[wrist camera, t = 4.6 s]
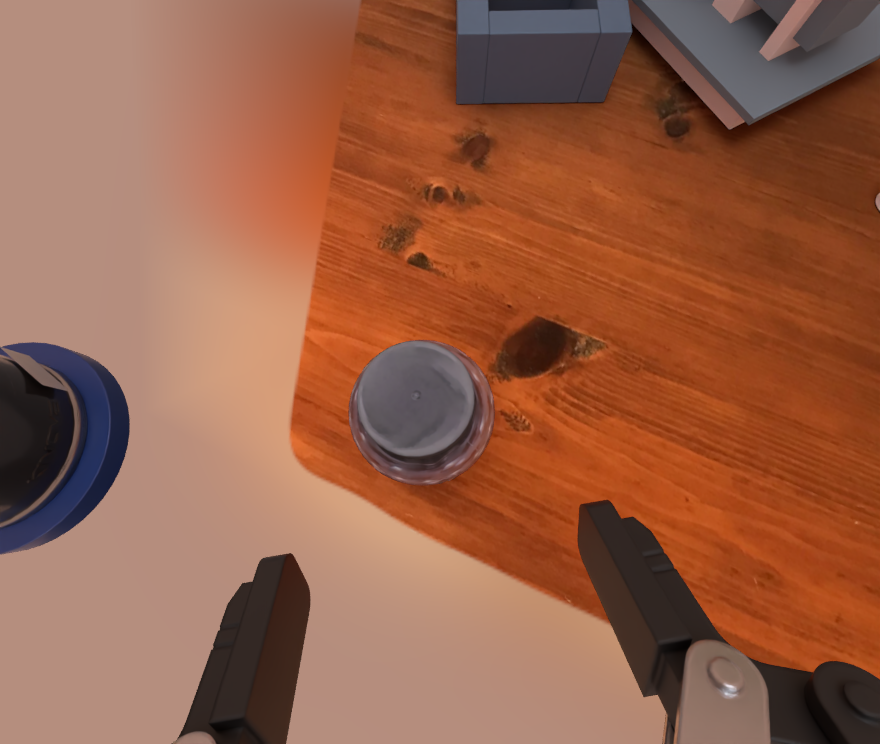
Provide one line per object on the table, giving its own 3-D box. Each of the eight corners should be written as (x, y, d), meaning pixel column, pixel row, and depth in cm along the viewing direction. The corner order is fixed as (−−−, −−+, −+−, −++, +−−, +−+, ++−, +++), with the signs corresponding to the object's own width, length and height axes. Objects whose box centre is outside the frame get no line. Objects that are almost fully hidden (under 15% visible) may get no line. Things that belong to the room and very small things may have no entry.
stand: (456, 104, 31) (457, 34, 26) (456, -4, 33) (457, -85, 29) (603, 102, 30) (633, 31, 26) (591, -6, 33) (615, -88, 28)
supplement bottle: (411, 367, 26) (383, 282, 15) (497, 410, 25) (536, 355, 14) (363, 453, 24) (293, 432, 13) (453, 501, 23) (456, 522, 12)
